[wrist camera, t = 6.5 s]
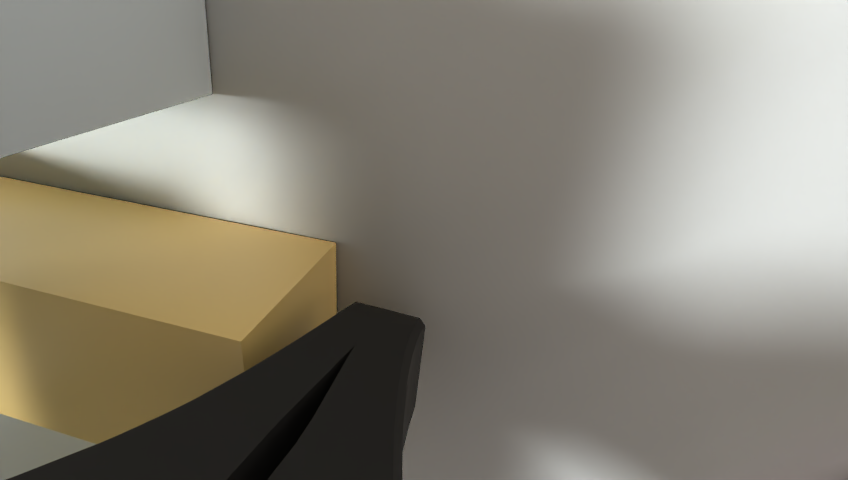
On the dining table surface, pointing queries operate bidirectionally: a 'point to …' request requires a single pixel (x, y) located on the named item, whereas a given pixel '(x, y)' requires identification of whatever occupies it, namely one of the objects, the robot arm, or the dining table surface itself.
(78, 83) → the housing
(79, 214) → the plug
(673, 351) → the dining table surface
